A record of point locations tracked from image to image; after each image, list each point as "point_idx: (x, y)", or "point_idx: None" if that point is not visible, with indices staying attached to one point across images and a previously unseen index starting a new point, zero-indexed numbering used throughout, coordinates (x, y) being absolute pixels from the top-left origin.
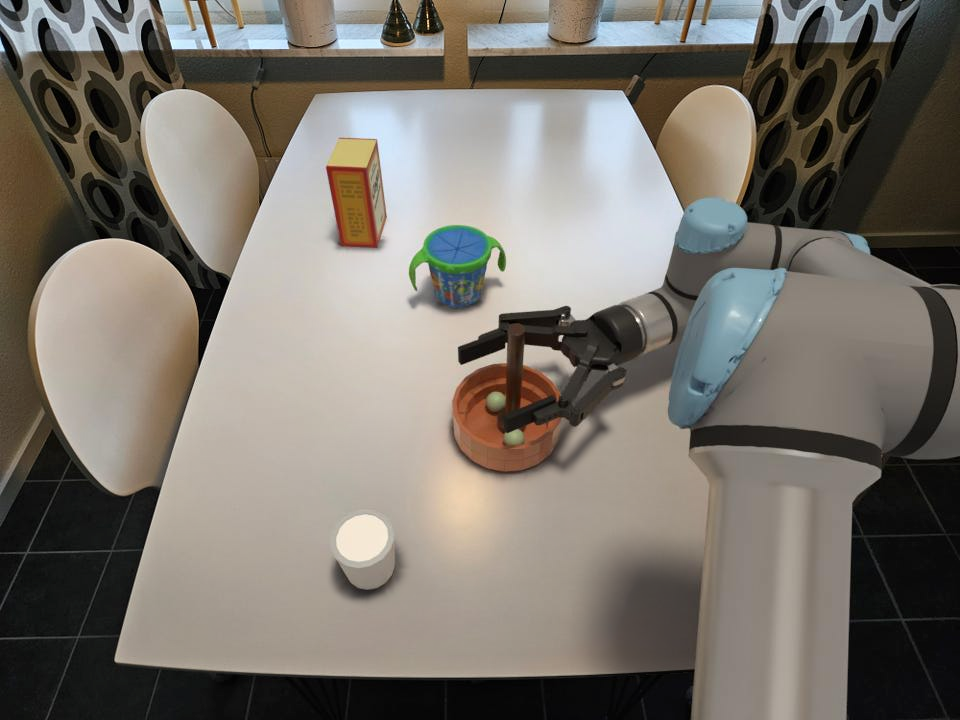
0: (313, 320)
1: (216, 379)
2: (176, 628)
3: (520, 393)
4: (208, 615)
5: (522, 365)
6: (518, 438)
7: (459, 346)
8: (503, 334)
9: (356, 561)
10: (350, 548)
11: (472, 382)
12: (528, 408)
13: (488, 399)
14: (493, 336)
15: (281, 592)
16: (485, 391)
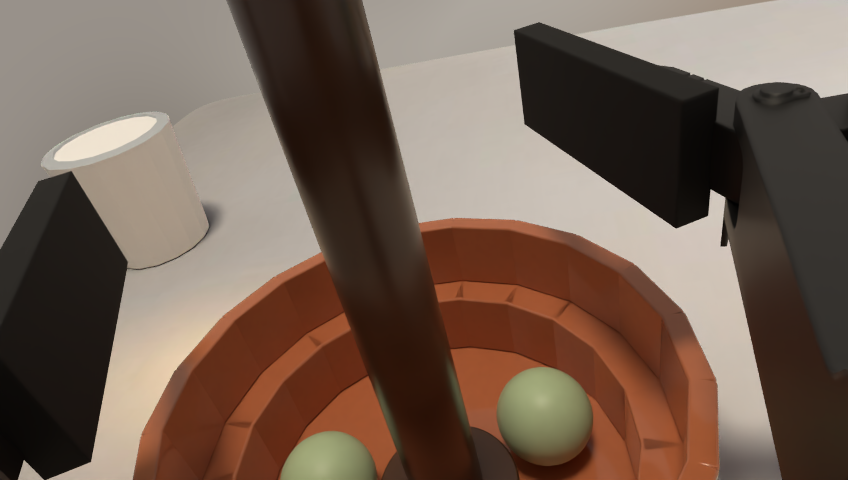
0: (826, 60)
1: (604, 35)
2: (207, 118)
3: (370, 362)
4: (205, 131)
5: (292, 143)
6: (289, 475)
7: (542, 24)
8: (669, 93)
9: (66, 141)
10: (99, 132)
11: (583, 282)
12: (17, 236)
13: (530, 368)
14: (638, 72)
15: (192, 169)
16: (598, 372)
